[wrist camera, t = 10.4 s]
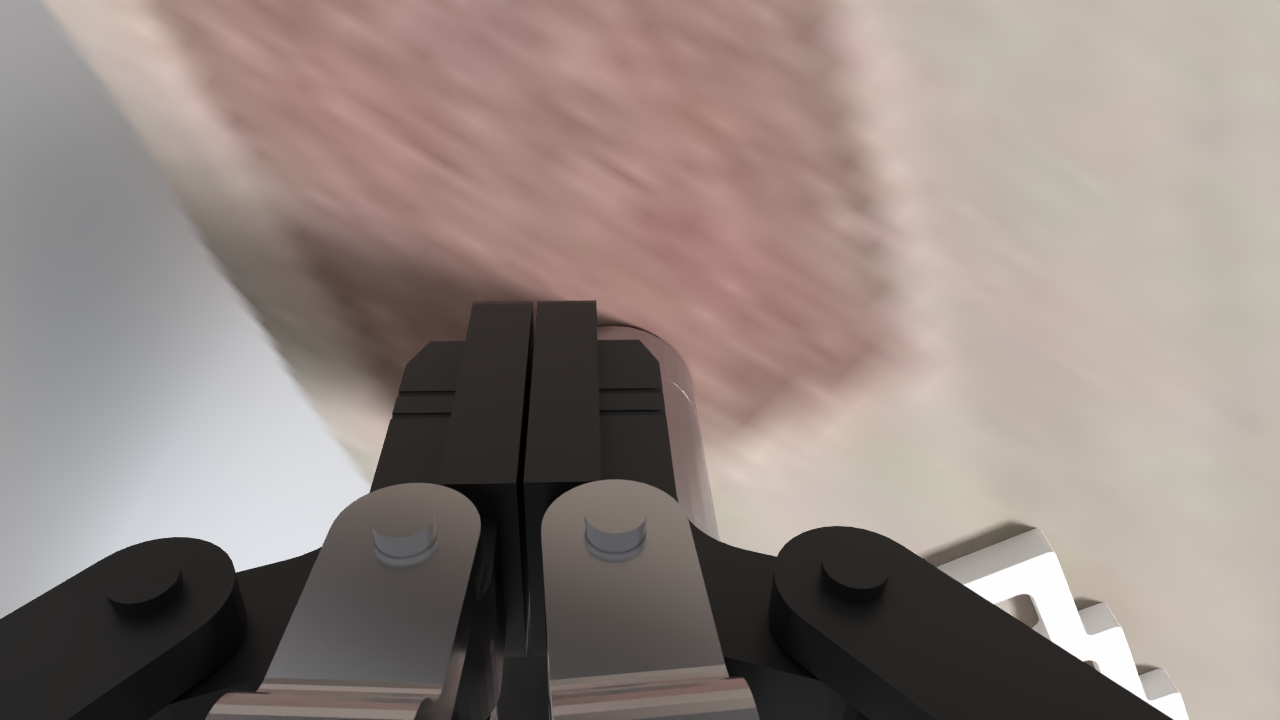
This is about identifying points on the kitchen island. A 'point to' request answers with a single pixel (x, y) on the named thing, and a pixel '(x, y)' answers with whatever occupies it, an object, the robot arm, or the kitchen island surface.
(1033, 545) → the holder
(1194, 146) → the kitchen island surface
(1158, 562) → the kitchen island surface
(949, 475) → the kitchen island surface
